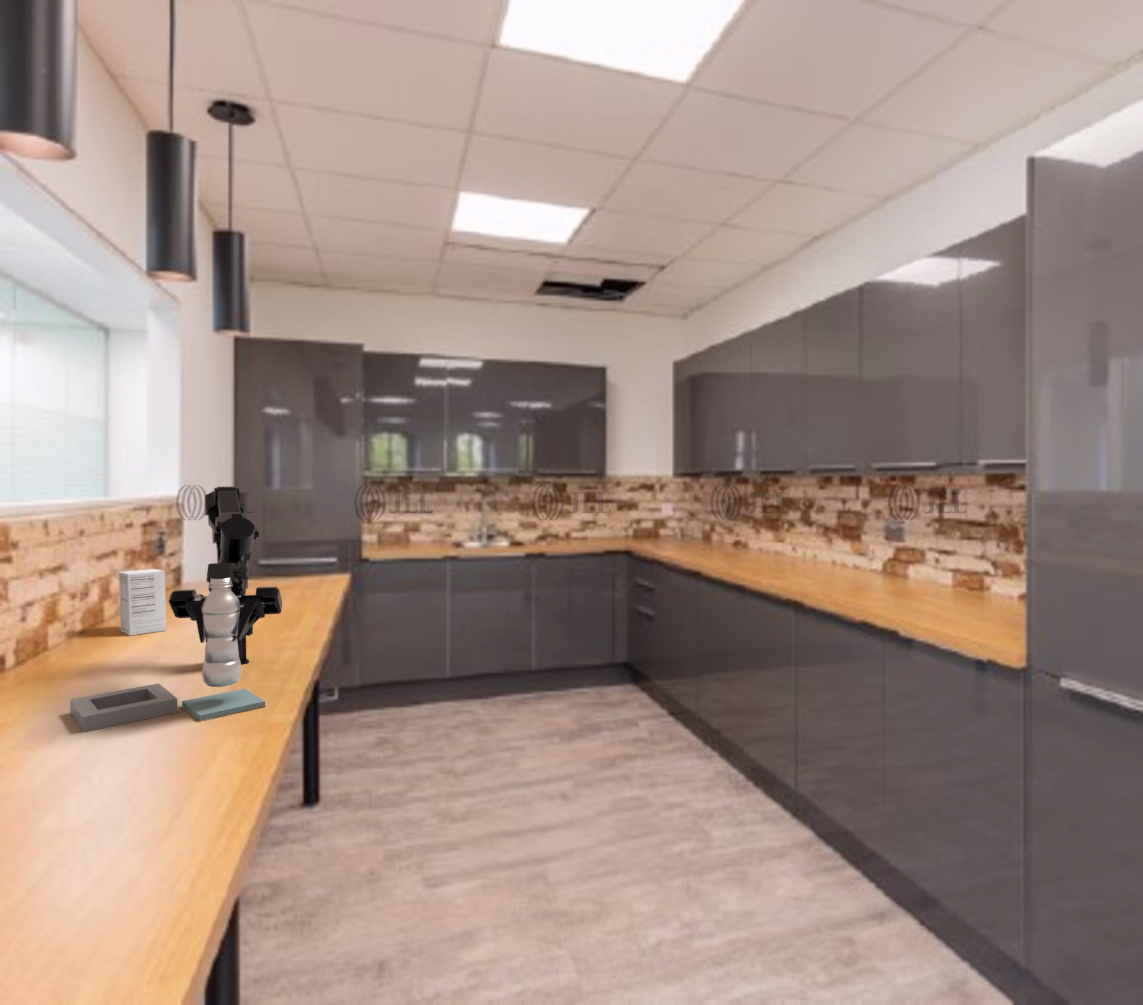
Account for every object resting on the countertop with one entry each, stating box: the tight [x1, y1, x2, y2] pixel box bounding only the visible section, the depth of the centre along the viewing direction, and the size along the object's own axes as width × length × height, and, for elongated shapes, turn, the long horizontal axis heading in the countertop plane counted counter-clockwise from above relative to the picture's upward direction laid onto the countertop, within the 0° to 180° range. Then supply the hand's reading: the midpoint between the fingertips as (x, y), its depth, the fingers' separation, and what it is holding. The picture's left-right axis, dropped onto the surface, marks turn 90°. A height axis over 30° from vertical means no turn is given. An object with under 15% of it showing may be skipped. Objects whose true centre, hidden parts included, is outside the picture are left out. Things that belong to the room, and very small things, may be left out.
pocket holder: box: [69, 682, 178, 733], centre depth 125 cm, size 14×13×2 cm
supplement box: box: [118, 568, 167, 637], centre depth 193 cm, size 10×9×17 cm
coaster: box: [181, 688, 266, 722], centre depth 128 cm, size 11×11×1 cm
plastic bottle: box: [201, 578, 243, 688], centre depth 127 cm, size 6×7×20 cm
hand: (220, 640), depth 126 cm, fingers closed on plastic bottle, 6 cm apart
